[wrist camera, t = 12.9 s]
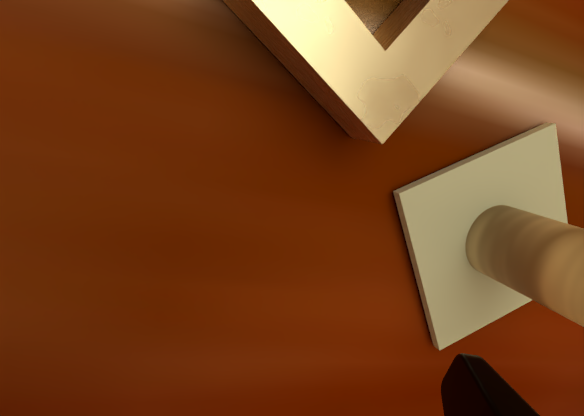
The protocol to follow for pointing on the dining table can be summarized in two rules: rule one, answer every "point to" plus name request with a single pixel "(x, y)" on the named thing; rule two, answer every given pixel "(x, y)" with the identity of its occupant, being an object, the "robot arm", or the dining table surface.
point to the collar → (366, 53)
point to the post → (531, 257)
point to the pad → (459, 218)
